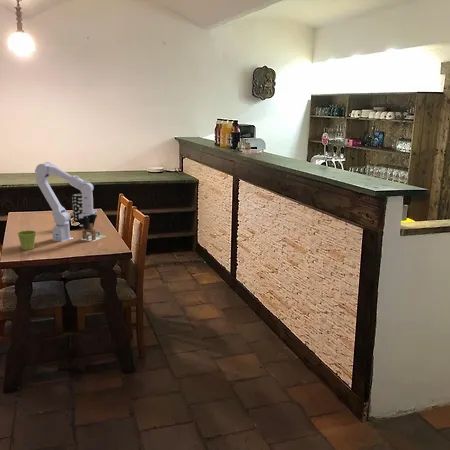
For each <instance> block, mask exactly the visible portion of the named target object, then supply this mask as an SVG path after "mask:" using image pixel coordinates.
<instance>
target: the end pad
mask: <svg viewBox="0 0 450 450" xmlns="http://www.w3.org/2000/svg"><path fill="white" fill-rule="evenodd" d="M90 236H92V235H90ZM96 237H101V238H100V239H102V237H103V238H105V237H106V235H104V234H100V235H98V234H96Z"/></svg>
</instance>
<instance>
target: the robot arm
mask: <svg viewBox="0 0 450 450" xmlns="http://www.w3.org/2000/svg"><path fill="white" fill-rule="evenodd" d="M34 172H35V181H36V184H37V186H38V188H39V189H40V191H41V193H42V195H43V196H44V198H45V200H46V202H47V203H48V205H49V207H50V209H51V210H52V216H53V221H54V223H55V225H54V226H53V227H52V230H51V231H52V241H53V242H54V241H55V242H62V243H63V242H66V241H69V240H72V239H74V236H73V237H72V236H71V233H70V232H71V230H70V220H71V214H70V212H68V211H67V210H66V208H65V207H64V206H63V205H62V204H61V203H60V201H59V199H58V197H57V196H56V194H55V192H54V190H53V189H52V187H51V185H50V183H49V182H48V180H49V177H50V176H52V175H55V176H58V177H59V178H62V179H64V181H65V180H66V181H67V182H68V185H70V186H72V187H74V188H75V189H77V190H79V191H80V194H82V206H83V212H82V213H81V214H79V219H80V220H81V222H82V224H83V227H84V228H83V229H85V230H88V223H93V228H94V226H95V221H96V219H97V217H98V215H97V214H98V210H97V209H94V197H93V196H94V195H93V191H94V189H95V188H94V187H95V186H94V184H92V183H91V182H90V181H87V180H84V179H82V178H80V176H79V175H71V174H69V173H68V172H66V171H64V170H63V169H62V168H60V167H58V166H57V165H55V164H52V163H51V162H50V161H45V162H43V163H39V164H38V165H36V167H35V170H34Z"/></svg>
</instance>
